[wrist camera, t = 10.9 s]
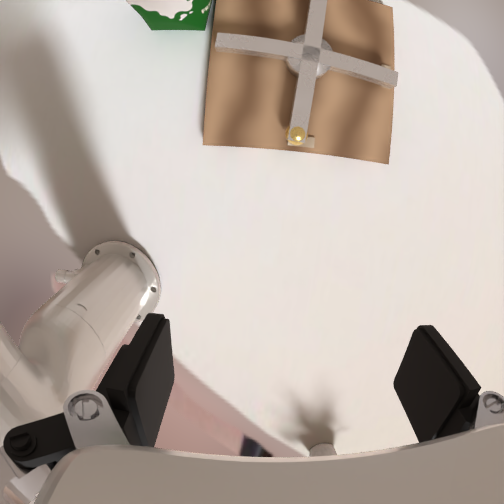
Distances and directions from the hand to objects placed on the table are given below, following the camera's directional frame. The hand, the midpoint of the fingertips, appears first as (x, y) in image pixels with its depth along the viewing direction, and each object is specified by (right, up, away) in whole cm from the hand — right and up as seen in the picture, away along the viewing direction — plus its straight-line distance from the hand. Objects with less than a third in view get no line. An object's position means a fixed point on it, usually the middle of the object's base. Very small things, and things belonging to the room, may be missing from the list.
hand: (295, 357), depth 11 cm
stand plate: (+5, +26, +21) cm, 34 cm away
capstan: (+5, +25, +19) cm, 32 cm away
